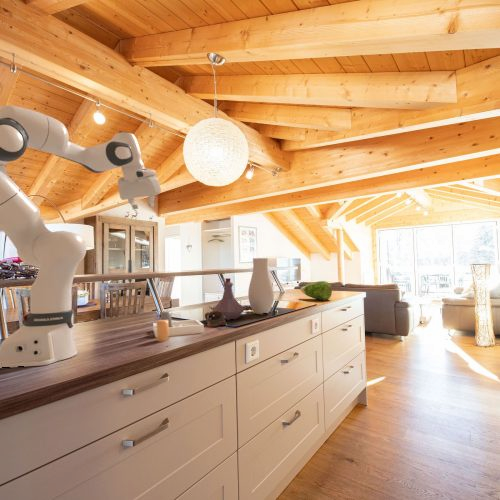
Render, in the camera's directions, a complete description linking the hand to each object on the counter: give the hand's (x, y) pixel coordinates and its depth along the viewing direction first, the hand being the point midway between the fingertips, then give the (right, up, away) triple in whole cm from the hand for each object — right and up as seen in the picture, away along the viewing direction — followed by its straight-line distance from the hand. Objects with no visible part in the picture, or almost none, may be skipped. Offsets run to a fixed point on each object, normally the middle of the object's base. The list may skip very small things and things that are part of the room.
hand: (143, 208), depth 136 cm
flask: (+34, -52, +28) cm, 68 cm away
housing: (+16, -51, -7) cm, 54 cm away
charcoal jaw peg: (+12, -50, -8) cm, 52 cm away
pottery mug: (+29, -52, +7) cm, 60 cm away
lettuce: (+91, -53, +97) cm, 143 cm away
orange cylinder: (+13, -51, -20) cm, 56 cm away
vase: (+51, -52, +40) cm, 83 cm away
